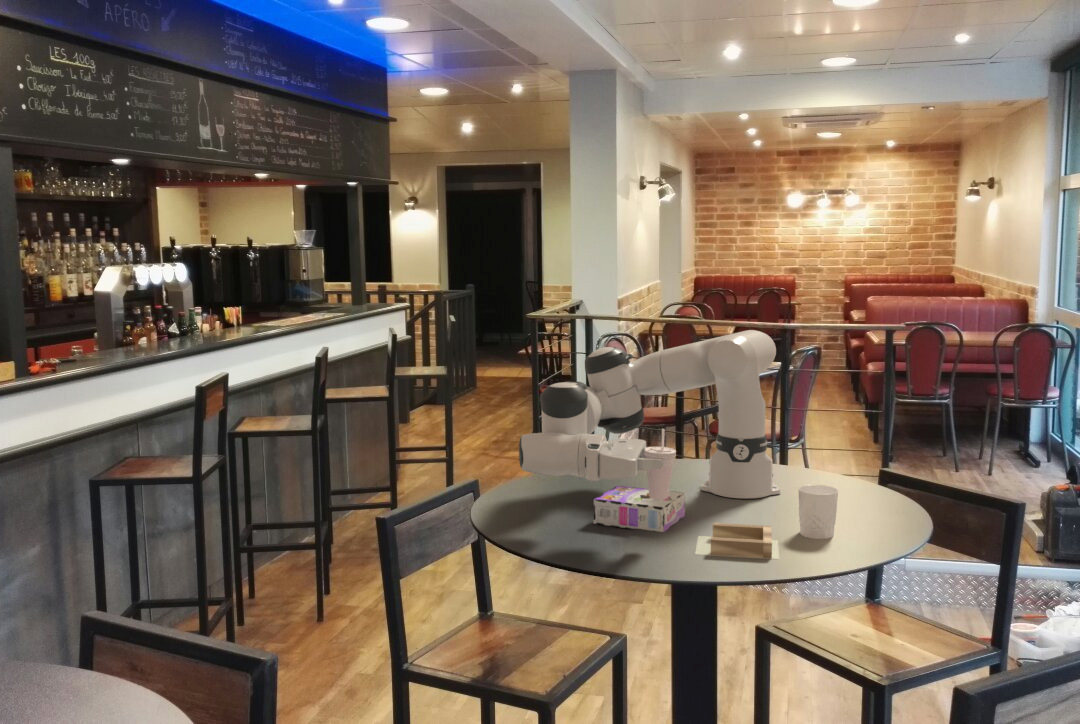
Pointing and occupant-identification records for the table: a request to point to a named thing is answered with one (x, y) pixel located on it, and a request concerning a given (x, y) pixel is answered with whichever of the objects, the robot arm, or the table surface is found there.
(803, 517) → the white cup
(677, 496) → the candy box
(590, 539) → the table surface
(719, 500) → the table surface
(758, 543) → the rack
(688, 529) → the table surface
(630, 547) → the table surface
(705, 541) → the mat
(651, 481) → the smoothie
